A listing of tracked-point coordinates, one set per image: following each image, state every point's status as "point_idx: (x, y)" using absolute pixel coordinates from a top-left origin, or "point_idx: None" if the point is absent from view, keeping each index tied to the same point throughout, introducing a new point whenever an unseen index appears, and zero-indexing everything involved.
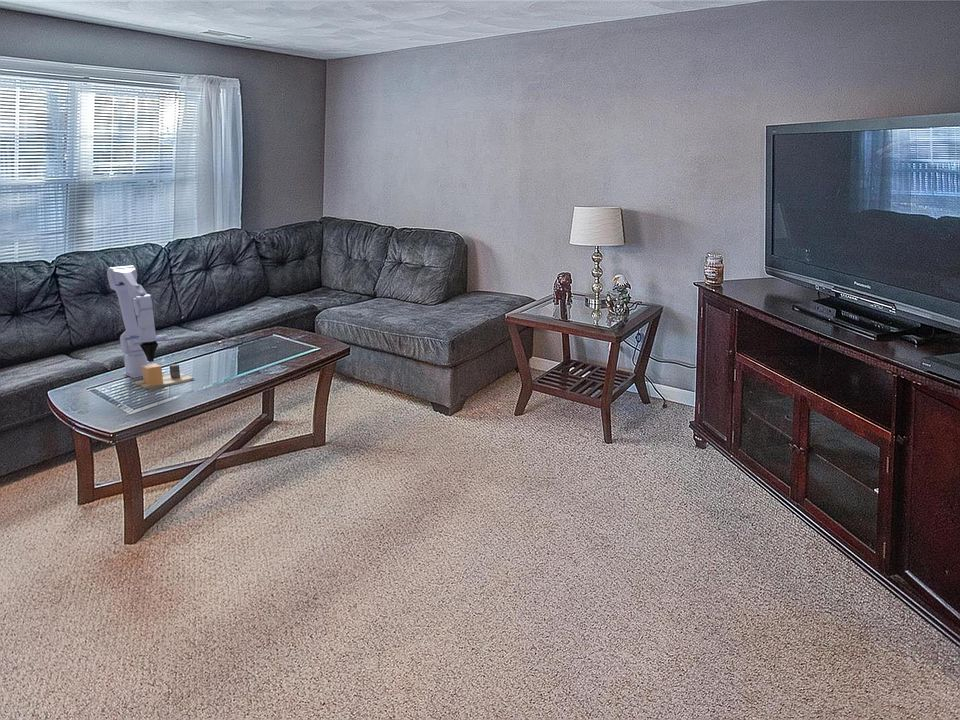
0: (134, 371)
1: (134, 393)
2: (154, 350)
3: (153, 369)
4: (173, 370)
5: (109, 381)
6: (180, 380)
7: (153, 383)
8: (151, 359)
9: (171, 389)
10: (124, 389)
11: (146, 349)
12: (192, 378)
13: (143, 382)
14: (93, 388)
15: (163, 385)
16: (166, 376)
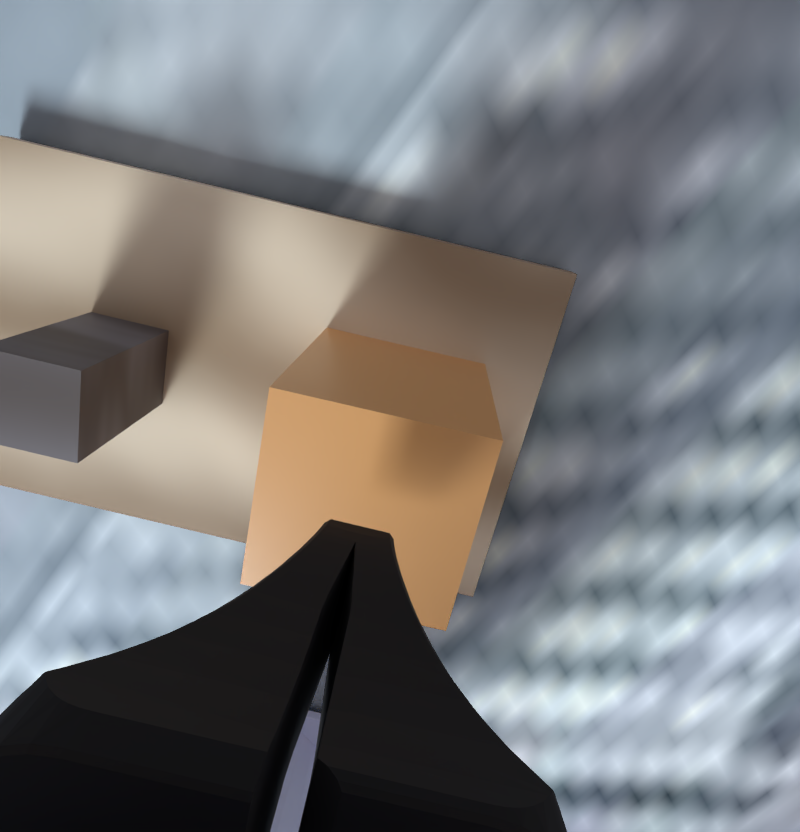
0: (307, 784)
1: (722, 332)
2: (237, 625)
3: (412, 408)
4: (111, 352)
5: None
6: (166, 190)
7: (443, 355)
8: (367, 540)
9: (413, 53)
10: (645, 537)
11: (495, 739)
12: (16, 138)
13: None
14: (727, 777)
15: (397, 230)
16: (172, 470)
